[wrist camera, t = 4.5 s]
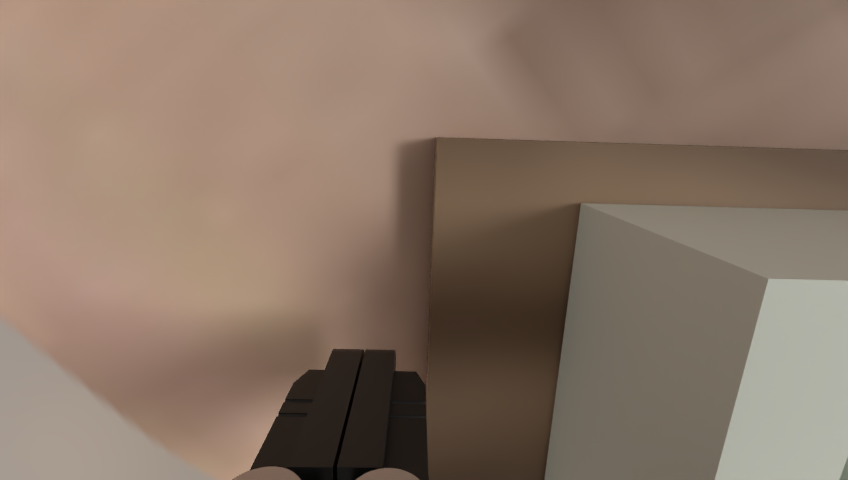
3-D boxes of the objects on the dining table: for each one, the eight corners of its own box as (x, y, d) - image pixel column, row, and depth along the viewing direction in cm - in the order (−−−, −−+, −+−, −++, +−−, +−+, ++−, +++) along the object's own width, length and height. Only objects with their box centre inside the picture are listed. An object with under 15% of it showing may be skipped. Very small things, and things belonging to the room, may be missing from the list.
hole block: (580, 202, 10) (769, 278, 5) (924, 212, 10) (1476, 295, 5) (543, 488, 12) (639, 759, 7) (824, 491, 12) (1127, 755, 7)
